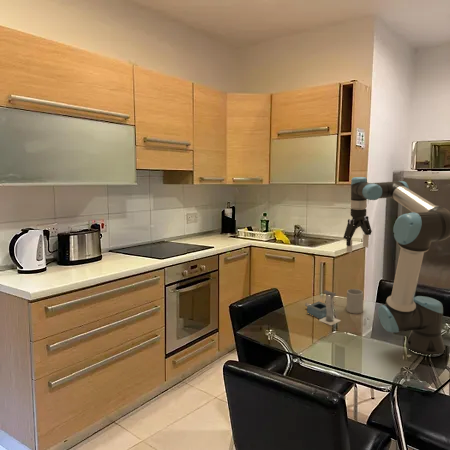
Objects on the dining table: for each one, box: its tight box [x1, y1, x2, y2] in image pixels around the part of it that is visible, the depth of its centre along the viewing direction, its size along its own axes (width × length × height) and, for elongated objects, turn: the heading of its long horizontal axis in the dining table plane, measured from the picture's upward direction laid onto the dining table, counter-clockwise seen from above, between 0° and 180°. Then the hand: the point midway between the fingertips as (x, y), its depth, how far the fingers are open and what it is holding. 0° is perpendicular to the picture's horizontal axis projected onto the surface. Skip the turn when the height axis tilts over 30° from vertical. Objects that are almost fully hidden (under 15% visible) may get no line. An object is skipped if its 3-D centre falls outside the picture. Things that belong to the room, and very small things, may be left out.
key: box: [323, 289, 337, 322], centre depth 210 cm, size 4×6×15 cm, turn 37°
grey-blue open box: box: [304, 301, 326, 320], centre depth 222 cm, size 14×10×4 cm, turn 37°
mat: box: [318, 317, 342, 326], centre depth 211 cm, size 8×8×1 cm
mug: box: [345, 288, 364, 315], centre depth 223 cm, size 12×8×11 cm
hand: (357, 249), depth 207 cm, fingers open, 13 cm apart
